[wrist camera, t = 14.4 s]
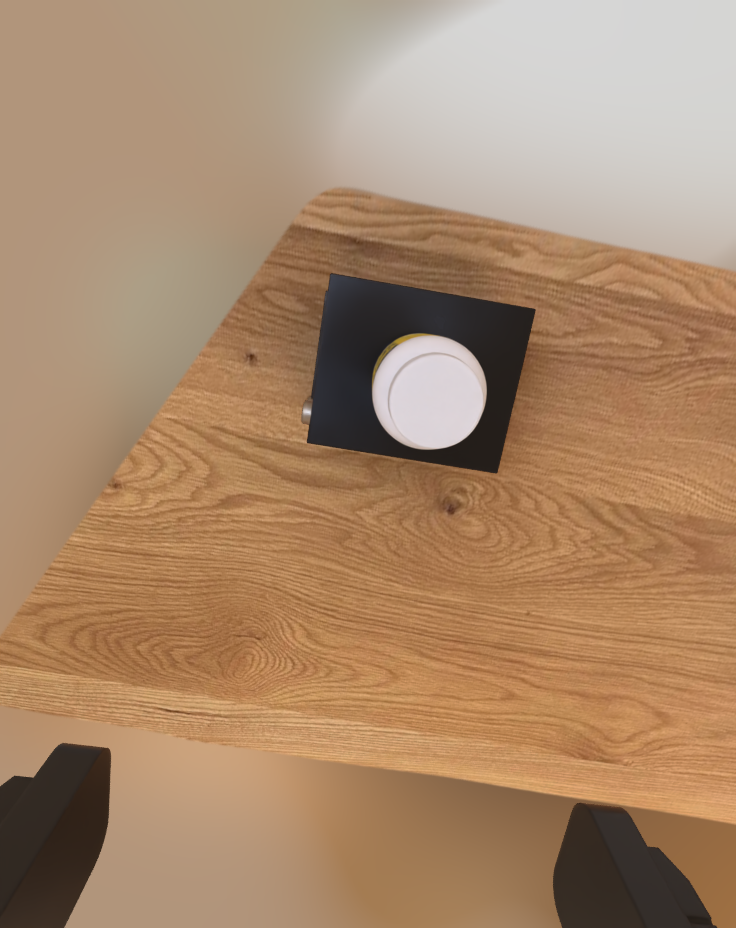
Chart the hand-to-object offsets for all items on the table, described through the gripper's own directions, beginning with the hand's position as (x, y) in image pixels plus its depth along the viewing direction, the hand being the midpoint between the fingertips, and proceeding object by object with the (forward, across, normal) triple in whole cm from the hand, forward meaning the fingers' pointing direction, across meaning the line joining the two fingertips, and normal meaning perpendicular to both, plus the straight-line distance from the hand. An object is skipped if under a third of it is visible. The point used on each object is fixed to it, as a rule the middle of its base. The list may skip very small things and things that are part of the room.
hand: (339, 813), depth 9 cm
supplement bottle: (+24, -3, -6) cm, 25 cm away
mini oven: (+32, -3, -6) cm, 33 cm away
